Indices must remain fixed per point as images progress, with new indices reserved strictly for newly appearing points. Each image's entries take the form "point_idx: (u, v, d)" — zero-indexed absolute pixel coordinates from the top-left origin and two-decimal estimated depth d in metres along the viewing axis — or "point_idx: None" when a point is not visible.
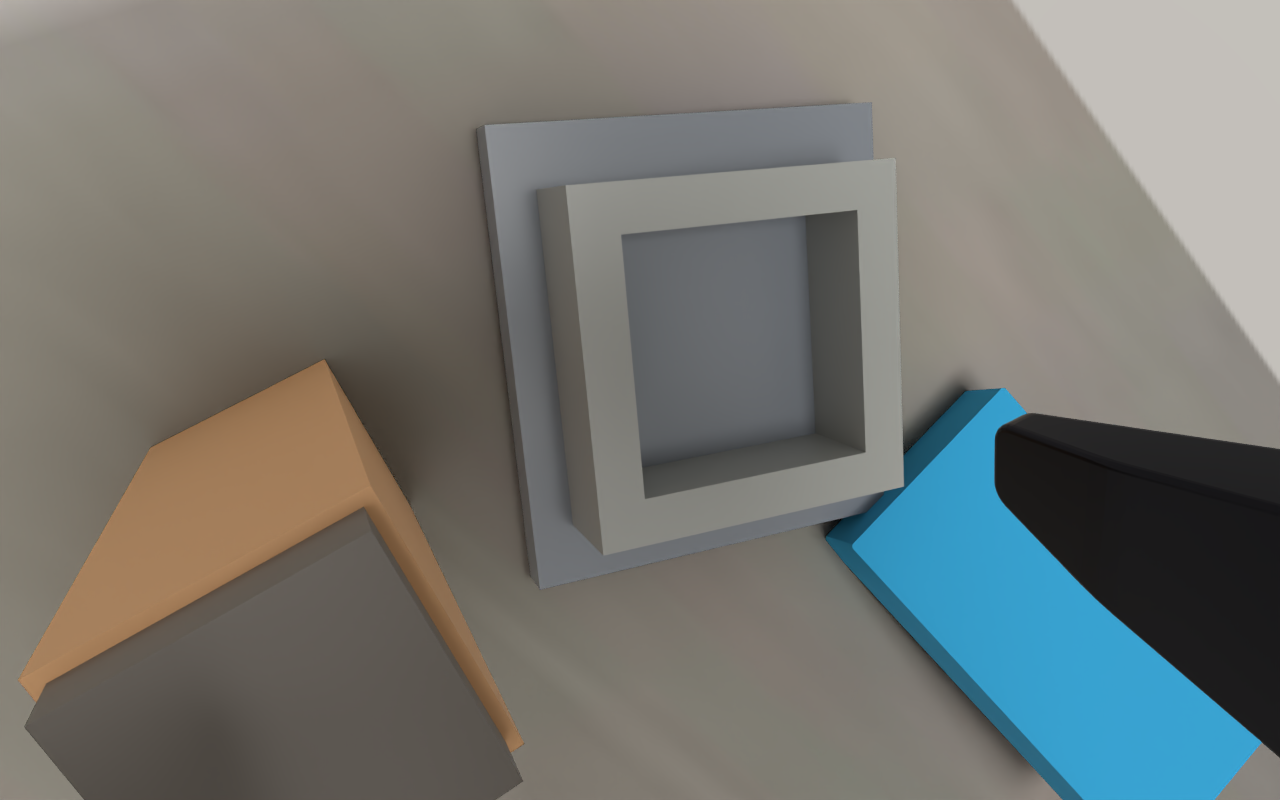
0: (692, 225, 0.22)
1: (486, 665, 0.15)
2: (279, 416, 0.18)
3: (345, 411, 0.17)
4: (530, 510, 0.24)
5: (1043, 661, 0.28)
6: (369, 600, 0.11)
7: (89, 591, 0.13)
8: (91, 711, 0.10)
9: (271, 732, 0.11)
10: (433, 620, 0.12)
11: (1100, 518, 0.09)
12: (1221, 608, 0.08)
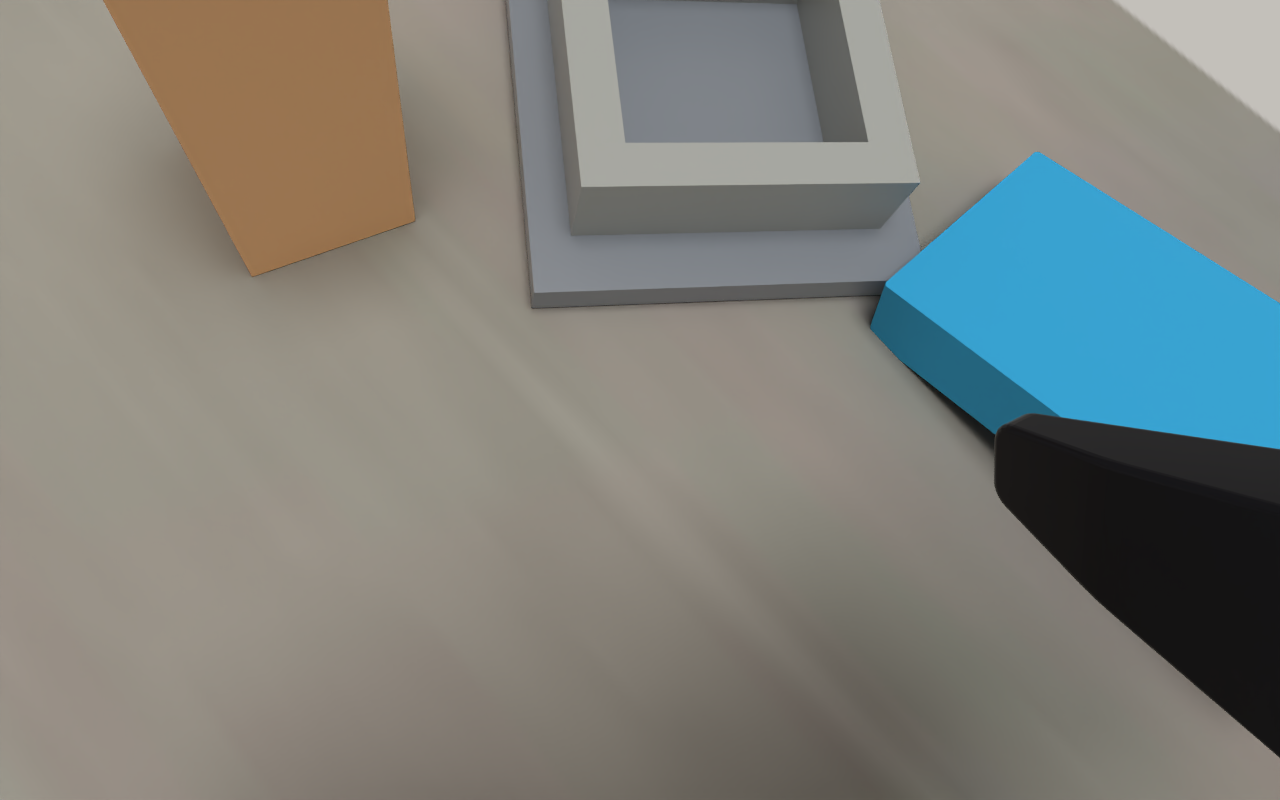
0: None
1: None
2: None
3: None
4: (527, 216, 0.24)
5: (1157, 403, 0.22)
6: None
7: None
8: None
9: None
10: None
11: (1100, 518, 0.09)
12: (1221, 608, 0.08)
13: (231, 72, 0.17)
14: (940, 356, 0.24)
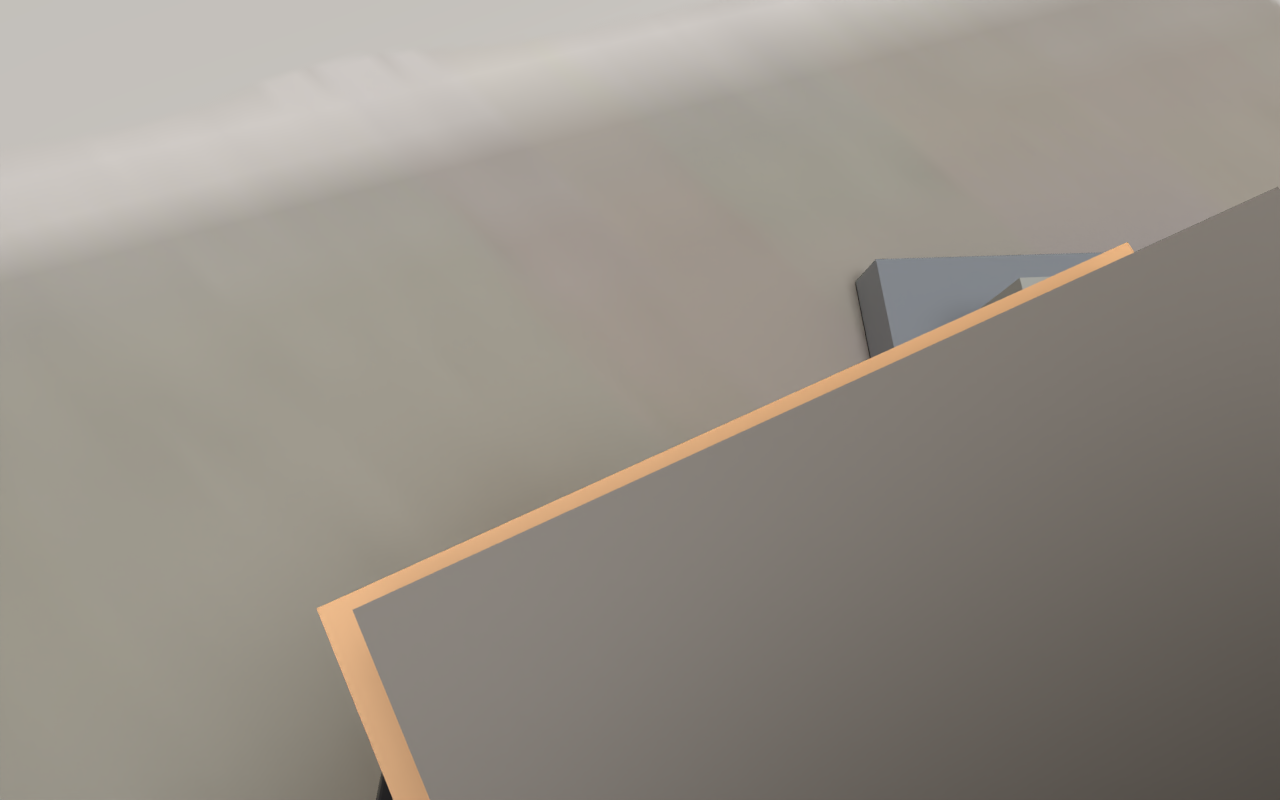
0: None
1: None
2: None
3: None
4: None
5: None
6: None
7: None
8: (562, 592, 0.03)
9: (1113, 786, 0.03)
10: None
11: None
12: None
13: None
14: None
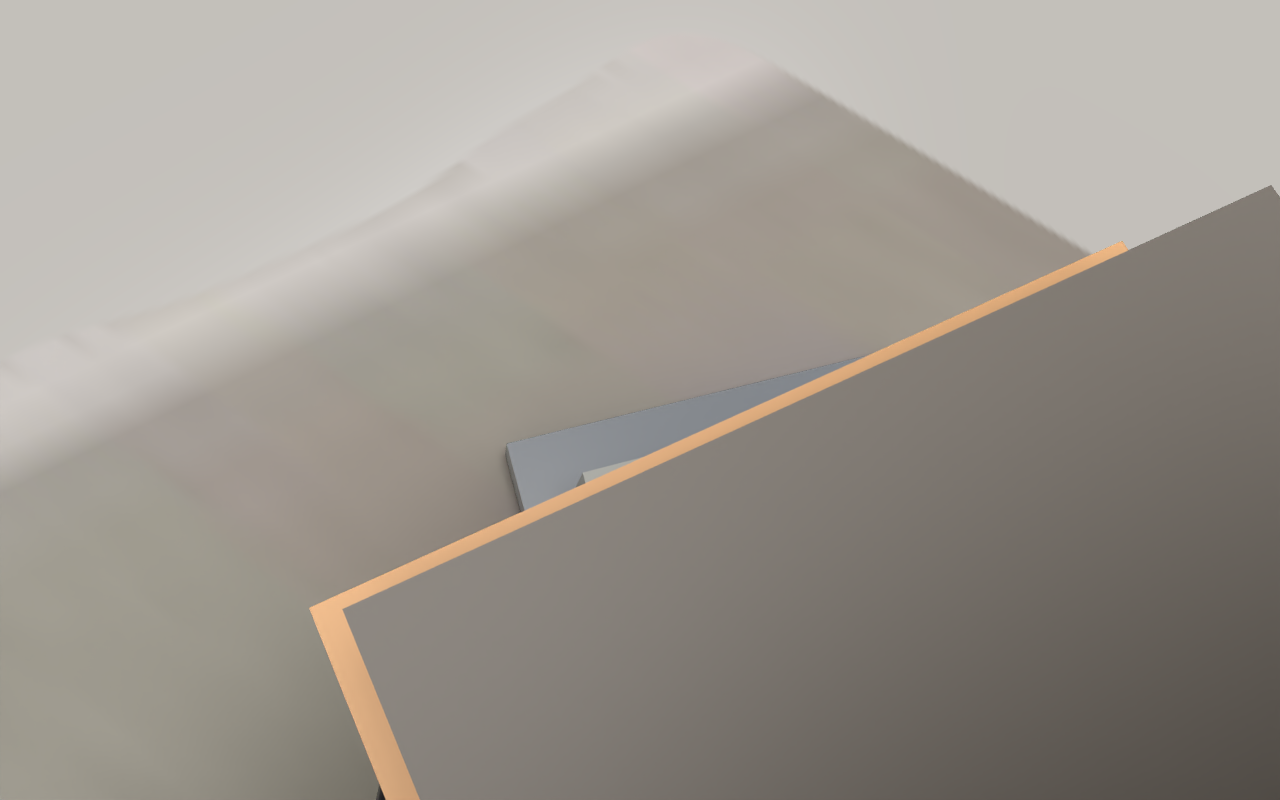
0: None
1: None
2: None
3: None
4: None
5: None
6: None
7: None
8: (553, 591, 0.03)
9: (1101, 783, 0.03)
10: None
11: None
12: None
13: None
14: None
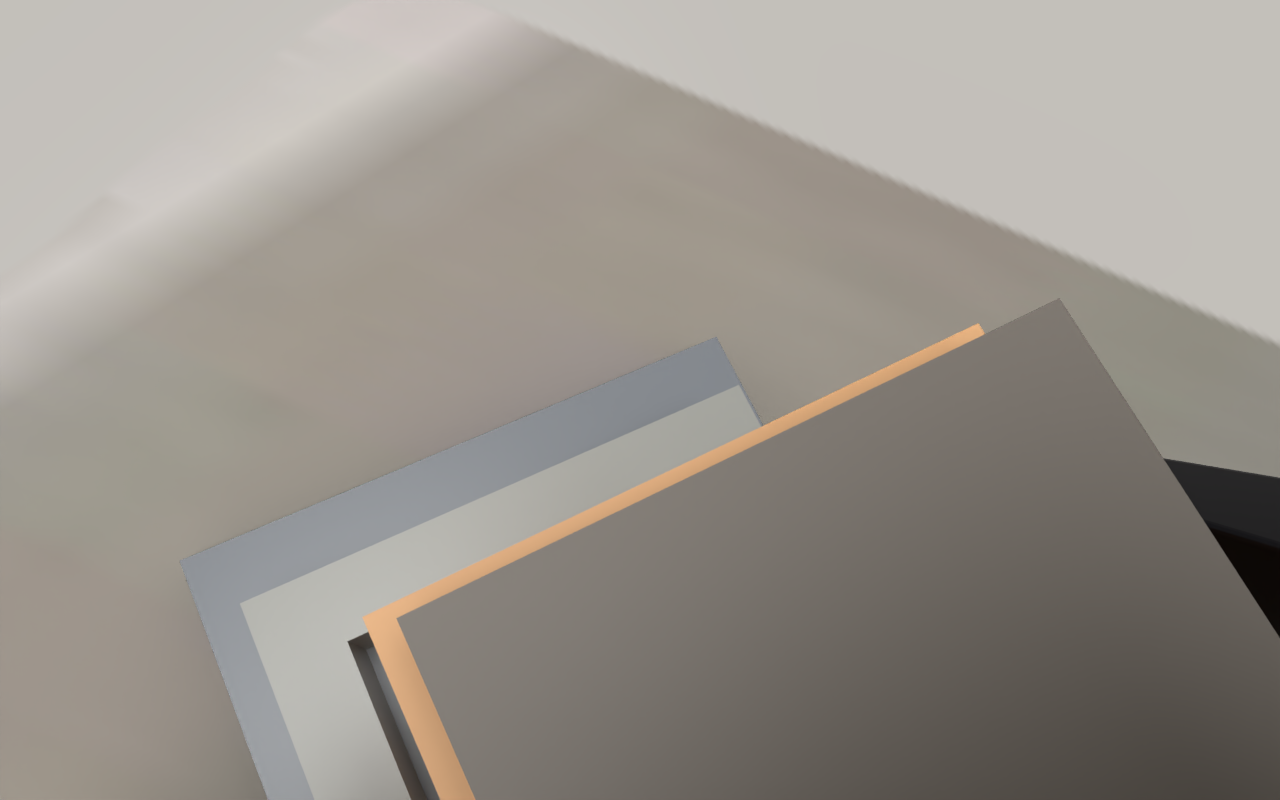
0: None
1: None
2: None
3: None
4: None
5: None
6: (1076, 440, 0.05)
7: None
8: (535, 604, 0.04)
9: (910, 729, 0.04)
10: None
11: None
12: None
13: None
14: None
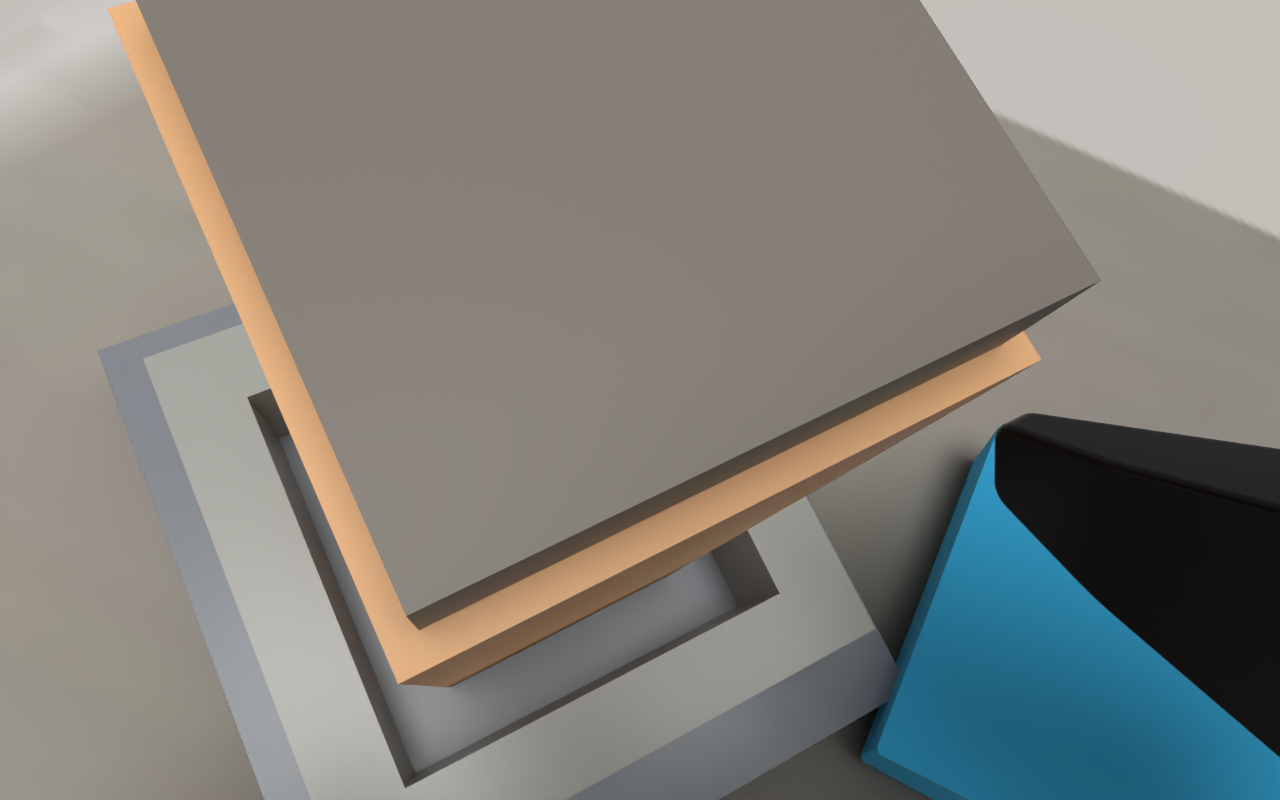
0: None
1: None
2: None
3: None
4: None
5: None
6: None
7: None
8: None
9: (559, 26, 0.05)
10: None
11: (1100, 518, 0.09)
12: (1221, 608, 0.08)
13: (561, 620, 0.09)
14: None
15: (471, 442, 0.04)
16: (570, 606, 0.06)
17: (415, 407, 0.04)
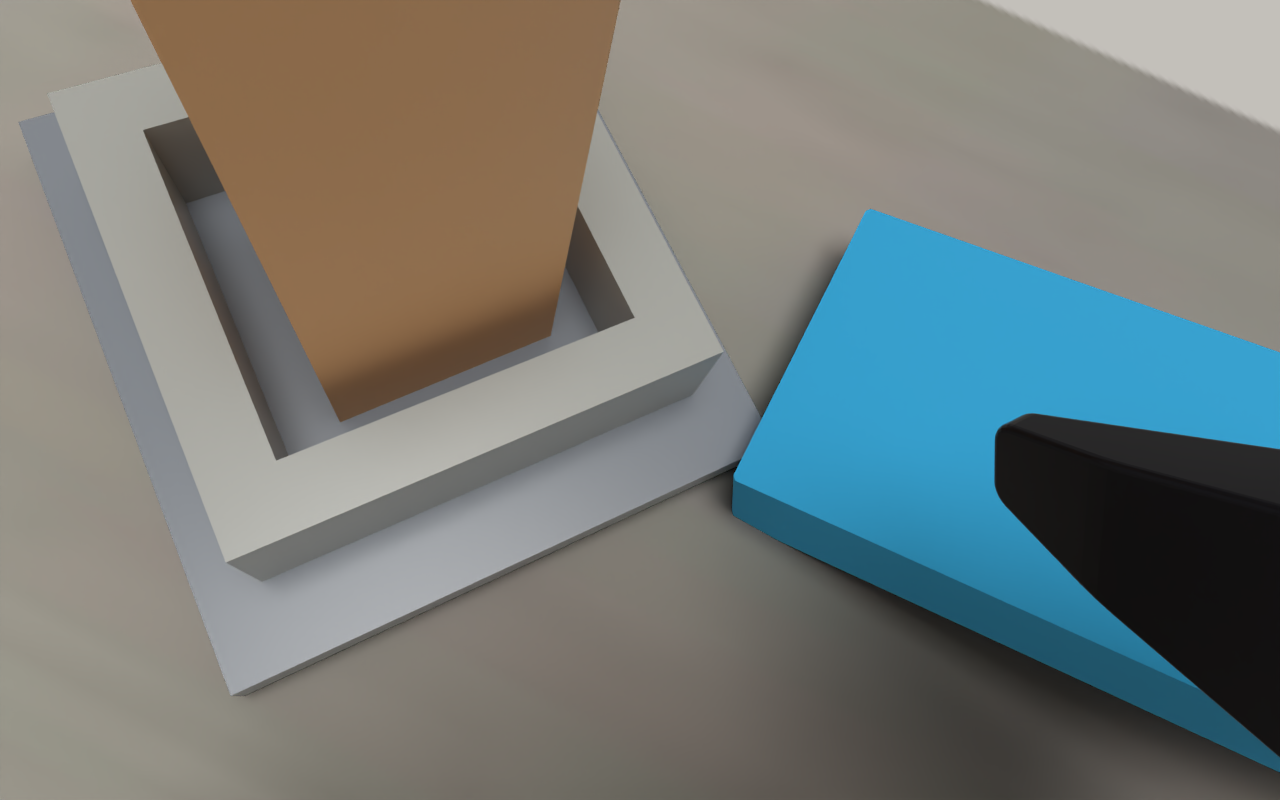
0: None
1: (618, 1, 0.10)
2: None
3: None
4: (187, 577, 0.16)
5: None
6: None
7: None
8: None
9: None
10: None
11: (1100, 518, 0.09)
12: (1221, 608, 0.08)
13: (362, 187, 0.10)
14: (835, 545, 0.18)
15: None
16: (298, 18, 0.08)
17: None
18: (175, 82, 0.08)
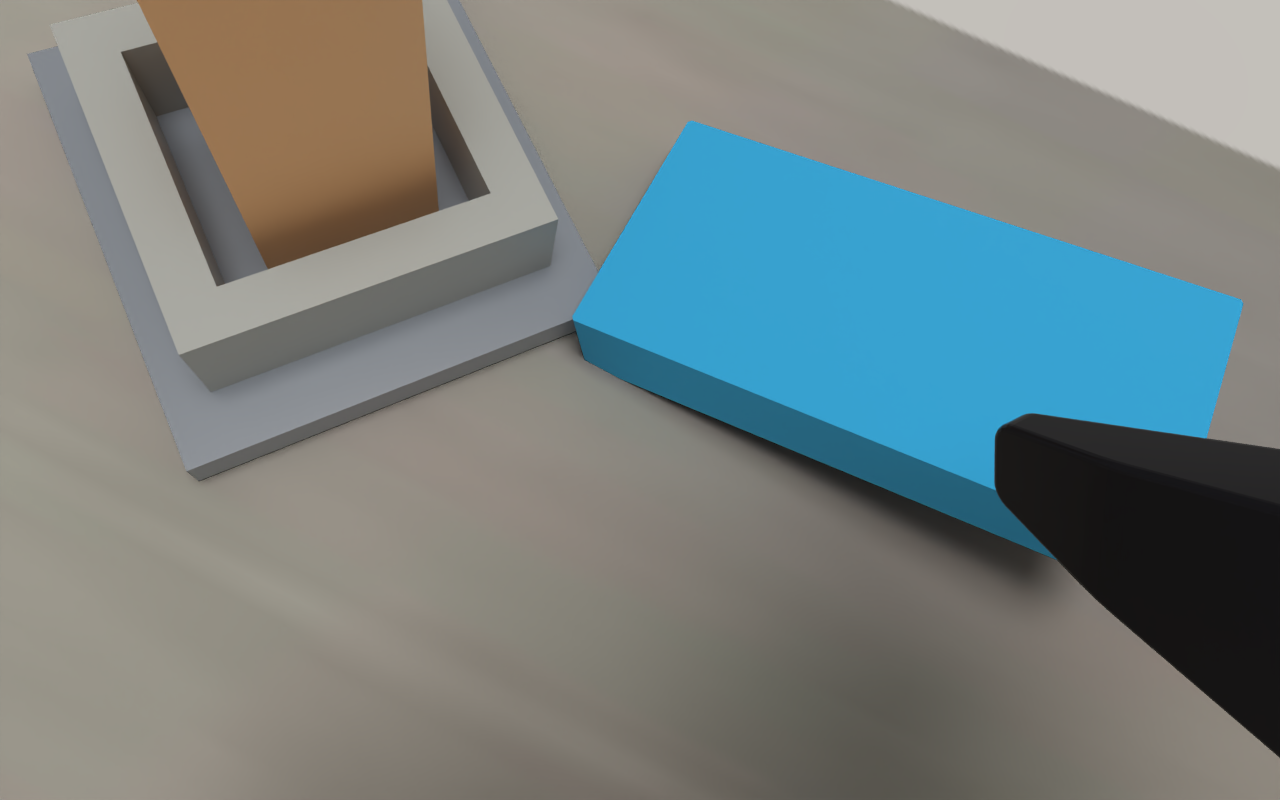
0: None
1: None
2: None
3: None
4: (155, 387, 0.21)
5: (866, 355, 0.22)
6: None
7: None
8: None
9: None
10: None
11: (1100, 518, 0.09)
12: (1221, 608, 0.08)
13: (258, 62, 0.16)
14: (653, 371, 0.23)
15: None
16: None
17: None
18: None
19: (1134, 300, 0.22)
